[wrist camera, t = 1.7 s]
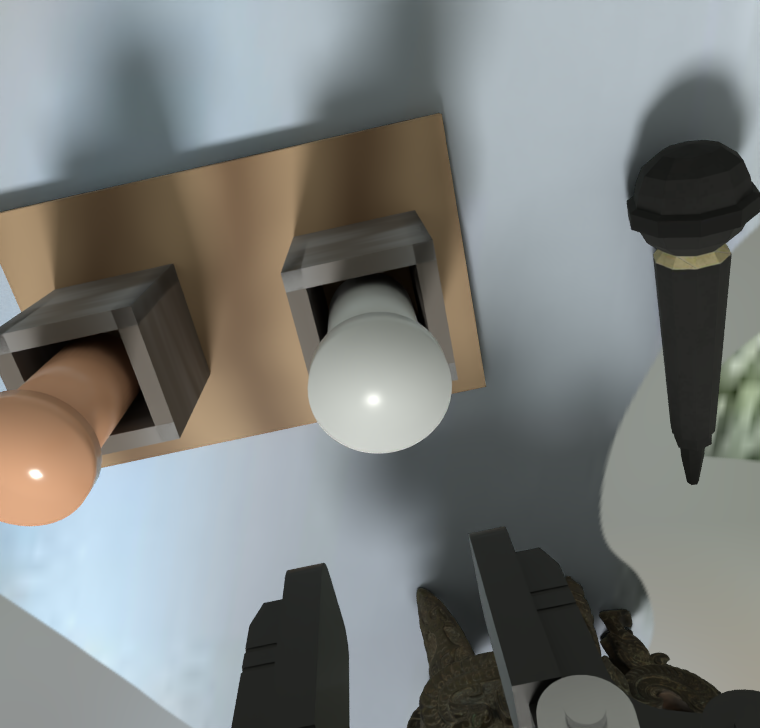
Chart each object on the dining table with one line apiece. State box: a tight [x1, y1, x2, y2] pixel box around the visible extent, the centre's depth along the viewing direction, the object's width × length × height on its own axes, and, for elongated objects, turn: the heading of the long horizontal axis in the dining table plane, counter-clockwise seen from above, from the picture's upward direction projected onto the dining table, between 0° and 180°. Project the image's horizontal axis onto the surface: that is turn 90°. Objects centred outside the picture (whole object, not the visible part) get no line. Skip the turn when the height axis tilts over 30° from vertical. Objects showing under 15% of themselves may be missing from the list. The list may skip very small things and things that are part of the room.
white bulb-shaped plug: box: [308, 273, 452, 453], centre depth 25 cm, size 5×5×8 cm
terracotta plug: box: [0, 333, 141, 526], centre depth 25 cm, size 5×5×8 cm
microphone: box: [627, 140, 760, 485], centre depth 35 cm, size 6×6×20 cm
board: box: [0, 113, 486, 468], centre depth 31 cm, size 22×14×8 cm, turn 102°
